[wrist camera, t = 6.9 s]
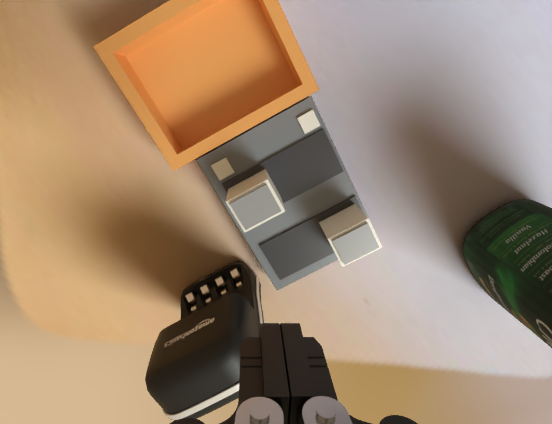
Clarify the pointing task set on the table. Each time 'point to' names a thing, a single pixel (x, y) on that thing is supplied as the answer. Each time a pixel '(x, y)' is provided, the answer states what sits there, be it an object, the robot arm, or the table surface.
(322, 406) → the robot arm
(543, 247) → the coffee jar
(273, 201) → the block
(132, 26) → the tray
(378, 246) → the breaker
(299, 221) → the panel
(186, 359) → the battery charger
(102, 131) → the table surface
